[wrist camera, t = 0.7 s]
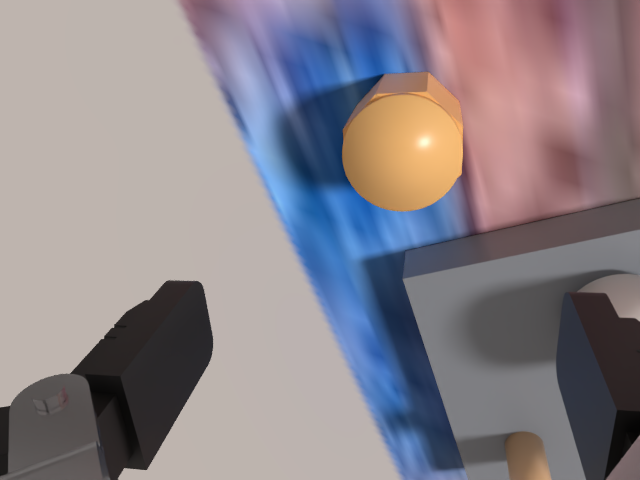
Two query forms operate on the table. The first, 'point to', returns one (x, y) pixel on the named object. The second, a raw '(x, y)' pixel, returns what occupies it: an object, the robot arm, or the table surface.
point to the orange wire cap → (404, 142)
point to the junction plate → (517, 331)
